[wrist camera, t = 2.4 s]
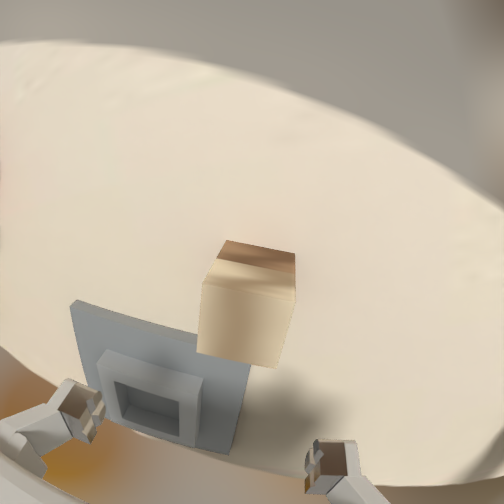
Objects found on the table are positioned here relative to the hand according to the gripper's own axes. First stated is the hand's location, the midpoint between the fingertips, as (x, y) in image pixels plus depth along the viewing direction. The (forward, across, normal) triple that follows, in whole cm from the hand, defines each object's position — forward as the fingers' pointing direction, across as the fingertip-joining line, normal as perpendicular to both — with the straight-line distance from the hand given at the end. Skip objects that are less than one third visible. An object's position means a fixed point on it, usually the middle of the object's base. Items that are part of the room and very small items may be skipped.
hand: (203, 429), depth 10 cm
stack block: (+12, -1, 0) cm, 12 cm away
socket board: (+12, +6, +14) cm, 20 cm away
